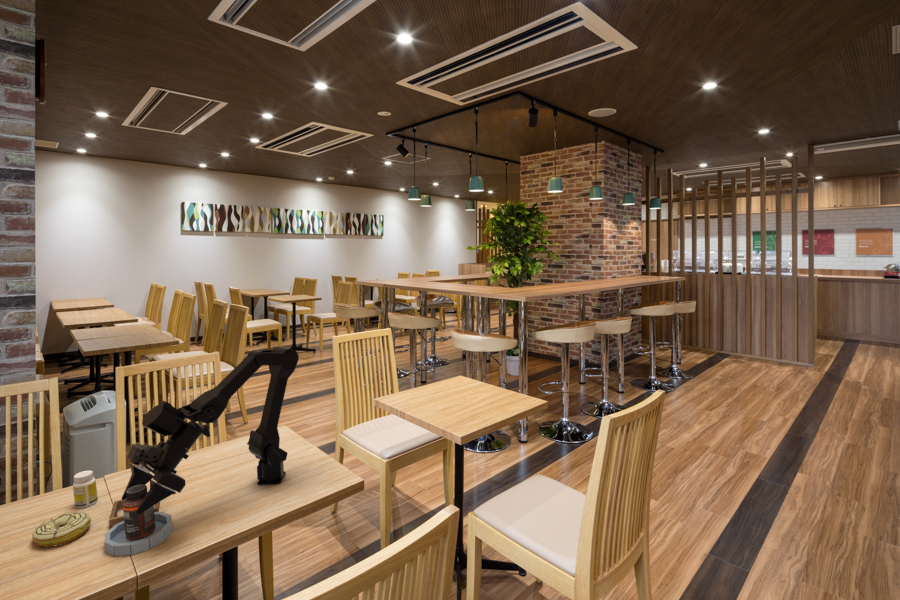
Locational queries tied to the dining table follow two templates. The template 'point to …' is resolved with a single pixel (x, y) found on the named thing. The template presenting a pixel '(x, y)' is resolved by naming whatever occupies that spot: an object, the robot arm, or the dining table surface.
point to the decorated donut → (61, 529)
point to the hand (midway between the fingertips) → (130, 506)
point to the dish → (123, 547)
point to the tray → (115, 520)
